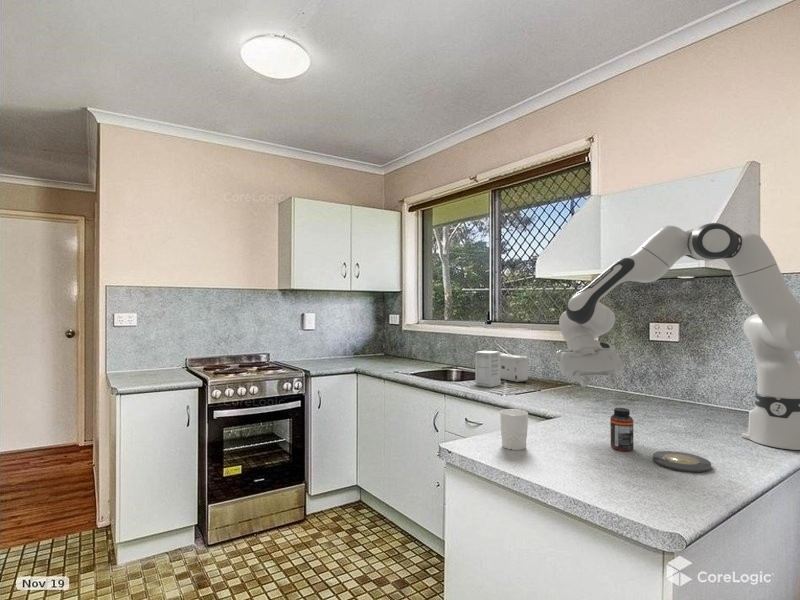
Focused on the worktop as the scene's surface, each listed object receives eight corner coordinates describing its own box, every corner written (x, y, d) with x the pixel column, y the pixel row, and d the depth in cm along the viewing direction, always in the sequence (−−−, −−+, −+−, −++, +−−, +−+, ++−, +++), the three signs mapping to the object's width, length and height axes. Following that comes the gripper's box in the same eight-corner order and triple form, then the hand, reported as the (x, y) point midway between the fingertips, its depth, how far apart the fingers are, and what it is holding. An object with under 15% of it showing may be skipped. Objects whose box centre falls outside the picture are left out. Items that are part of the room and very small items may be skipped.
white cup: (521, 441, 140) (521, 408, 140) (532, 450, 132) (532, 414, 132) (495, 443, 139) (496, 409, 139) (506, 451, 131) (506, 415, 131)
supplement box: (501, 385, 235) (501, 351, 235) (491, 387, 228) (491, 353, 228) (485, 382, 242) (485, 350, 242) (474, 385, 235) (474, 351, 235)
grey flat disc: (660, 452, 131) (660, 447, 131) (716, 463, 122) (716, 458, 122) (645, 463, 121) (645, 459, 121) (704, 477, 112) (704, 471, 112)
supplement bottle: (610, 444, 138) (610, 405, 138) (633, 447, 135) (633, 407, 135) (610, 450, 133) (610, 410, 133) (633, 453, 130) (633, 412, 130)
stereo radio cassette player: (528, 381, 246) (528, 343, 246) (517, 383, 241) (517, 344, 242) (501, 376, 264) (501, 340, 264) (490, 377, 260) (490, 341, 260)
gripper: (556, 344, 153) (570, 379, 143) (616, 344, 155) (633, 378, 145) (550, 356, 157) (564, 391, 147) (608, 356, 159) (625, 390, 150)
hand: (599, 385), depth 146 cm, fingers open, 8 cm apart
